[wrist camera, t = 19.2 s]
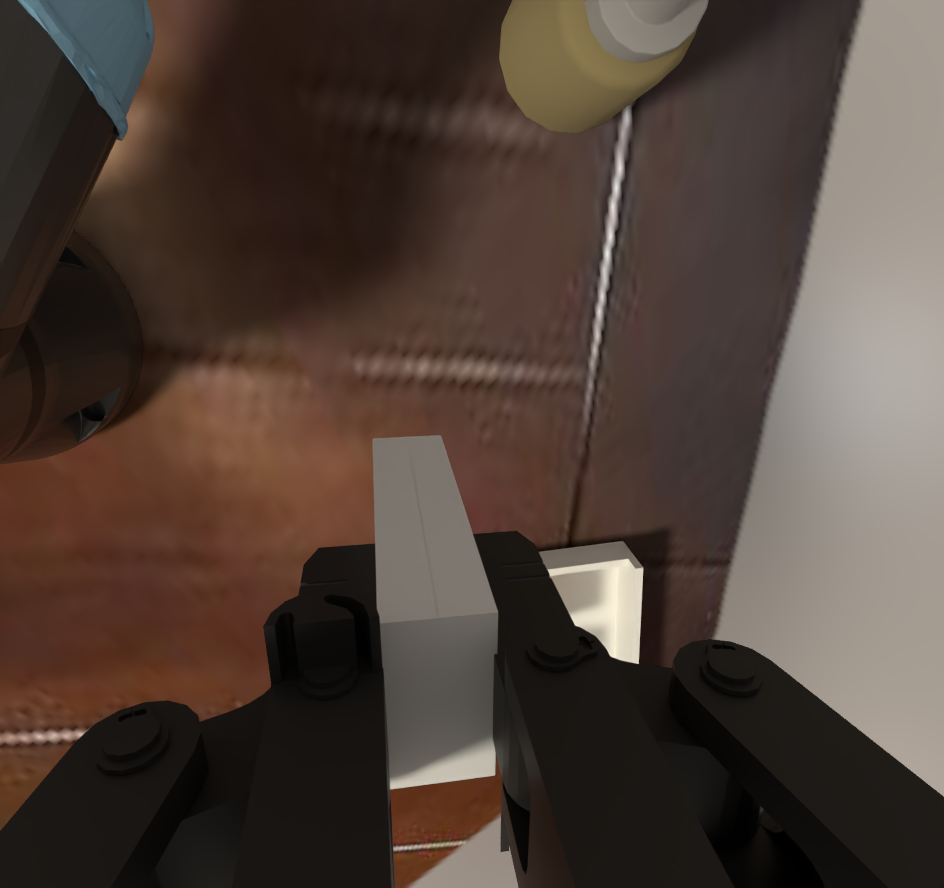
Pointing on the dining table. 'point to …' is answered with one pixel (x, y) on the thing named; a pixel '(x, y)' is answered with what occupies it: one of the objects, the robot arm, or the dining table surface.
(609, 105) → the squeeze bottle
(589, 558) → the tray
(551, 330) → the dining table surface
